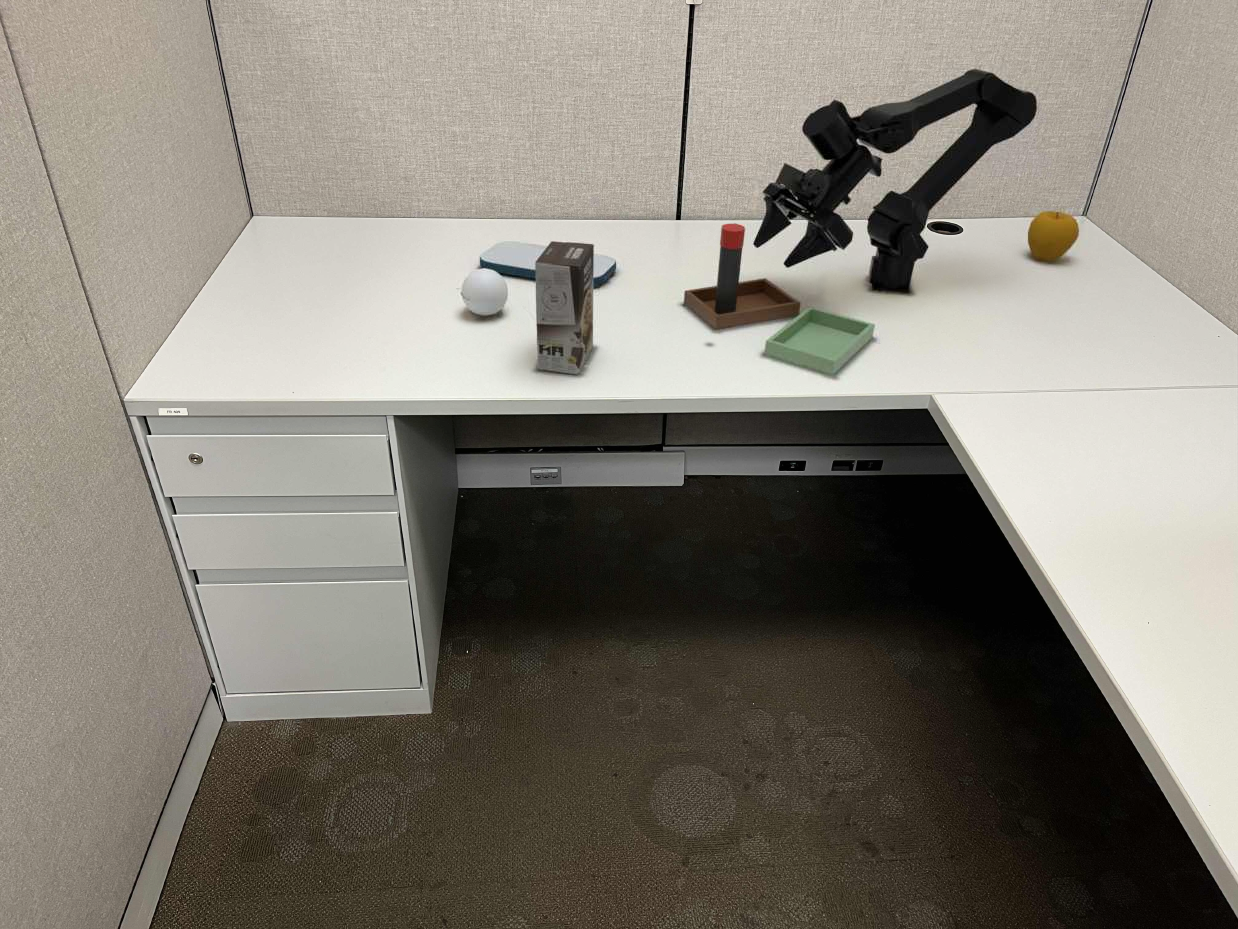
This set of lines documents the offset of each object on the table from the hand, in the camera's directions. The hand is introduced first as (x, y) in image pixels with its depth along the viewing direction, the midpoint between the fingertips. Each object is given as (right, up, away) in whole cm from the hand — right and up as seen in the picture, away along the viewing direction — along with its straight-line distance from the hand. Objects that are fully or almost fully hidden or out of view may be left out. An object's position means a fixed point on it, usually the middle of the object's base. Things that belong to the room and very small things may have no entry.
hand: (769, 255), depth 140 cm
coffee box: (-32, -18, -12) cm, 38 cm away
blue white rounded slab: (-37, +1, +16) cm, 40 cm away
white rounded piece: (-47, -9, +1) cm, 48 cm away
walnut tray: (-4, -8, +3) cm, 10 cm away
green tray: (+6, -16, -7) cm, 18 cm away
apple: (+57, +6, +27) cm, 63 cm away
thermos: (-7, -9, +2) cm, 11 cm away
